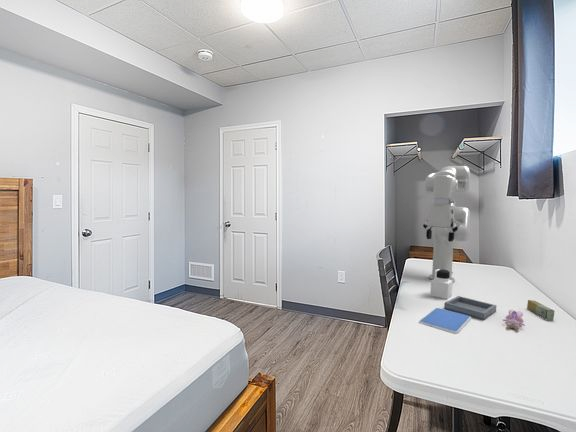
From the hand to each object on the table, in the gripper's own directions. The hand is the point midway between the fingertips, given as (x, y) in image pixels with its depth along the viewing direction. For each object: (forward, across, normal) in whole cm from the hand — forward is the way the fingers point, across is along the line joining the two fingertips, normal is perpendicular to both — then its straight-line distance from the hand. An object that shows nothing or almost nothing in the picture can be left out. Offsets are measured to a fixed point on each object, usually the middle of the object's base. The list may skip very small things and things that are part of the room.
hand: (439, 240), depth 137 cm
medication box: (+26, -35, -11) cm, 45 cm away
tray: (+26, -17, +8) cm, 32 cm away
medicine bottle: (+26, -2, -1) cm, 26 cm away
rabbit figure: (+26, -32, +10) cm, 43 cm away
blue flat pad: (+27, -16, +26) cm, 41 cm away
